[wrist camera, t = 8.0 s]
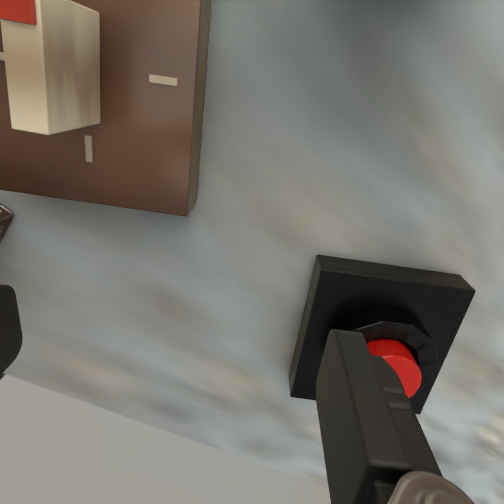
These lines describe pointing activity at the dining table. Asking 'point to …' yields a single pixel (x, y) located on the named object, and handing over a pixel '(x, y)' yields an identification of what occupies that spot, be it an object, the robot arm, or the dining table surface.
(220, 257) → the dining table surface
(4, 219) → the box
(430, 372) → the housing
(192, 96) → the panel
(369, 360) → the robot arm
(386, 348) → the button
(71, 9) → the cream slab
